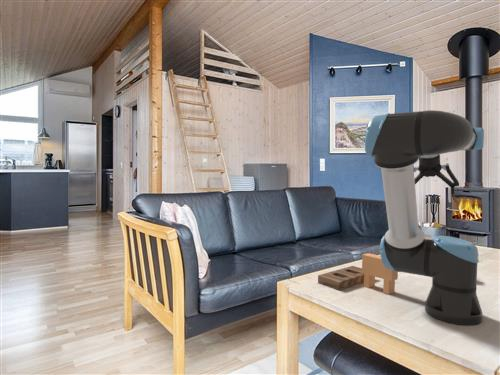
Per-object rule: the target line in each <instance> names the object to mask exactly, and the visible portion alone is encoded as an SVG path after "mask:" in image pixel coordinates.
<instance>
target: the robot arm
mask: <svg viewBox="0 0 500 375" xmlns="http://www.w3.org/2000/svg"><path fill="white" fill-rule="evenodd" d="M369 120H370V121H368V122H369V123H368V124H367V127H366V131H365V135H364V136H365V137H364V151H365V155H366V156H367V157H370V158H373V160H374V165H375V166H377V167H378V168H380V170H381V176H382V177H381V179H382V187H383V195H384V202H385V210H386V218H387V225H388V230H387V231H386V232H385V234H384V235H383V236H382V238H381V239H380V243H379V244H380V245H379V248H380V252H379V254H380V255H379V256H381V260H382V262H383V264H384V266H385V267H386V268H388V269H390V270H394V271H397V272H398V273H406V274H412V275H418V276H424V277H429V278H432V280H431V281H432V282H431V288H430V290H429V293H428V294H427V297H426V300H425V303H424V311H425V312H426V313H427V314H428V315H430V316H431V317H433V318H435V319H438V320H440V321H443V322H447V323H450V324H454V325H455V324H456V325H463V326H473V325H478V324H480V323H482V322H483V310H482V307H481V304H480V300H479V297H478V295H477V288H478V287H477V285H478V284H477V283H478V263H479V255H478V254H479V253H478V252H479V250H478V247H477V246H476V245H475V244H474V243H473V242H470V241H468V240H465V239H461V238H458V237H454V236H448V235H441V234H440V235H434V237H433V238H432V239H431V240H429V239H425V236H424V234H425V233H424V231H423V230H422V229H421V228H419V218H418V205H417V195H416V185H417V183H418V182H419V181H420V180H421V179H423V178H424V177H425V178H429V177H433V178H434V177H437V178H439V179H441V181H443V182H444V183H445V184H446V185H447V188H448V190H447V191H448V194H447V195H448V203H452V195H455V188H456V187H459V186H460V182H459V180H458V178H457V177H456V175H455V174H454V173H453V171H452V169H451V168H450V164H449V163H445V164H443V165H441V155H442V154H447V153H448V154H449V153H453V152H458V151H478V150H482V149H483V148H484V143H485V130H484V128H483V127H474V126H473V125H472V124H471V122H470V121H469V120H468V119H466V118H465V117H463V116H461V115H458V114H456V113H453V112H448V111H445V110H444V111H442V110H422V111H420V110H419V111H407V112H395V113H390V112H388V113H386V114H384V113H383V114H379V115H378V114H377V115H374V116H373V117H372V118H371V119H369ZM417 163H418V166H414V165H415V164H417ZM442 169H443V170H444V171H446V173H447V174H448V177H450V179H451V180H450V179H449V178H448V177H447V176H446V175H444V174H443V172H441V170H442ZM417 171H418V172H419V173H418V174H417V175H416V176H415V173H416V172H417Z"/></svg>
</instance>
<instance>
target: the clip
mask: <svg viewBox="0 0 500 375" xmlns="http://www.w3.org/2000/svg"><path fill="white" fill-rule="evenodd" d="M361 256H362V257H361V258H362V259H361V262H362V264H361V266H362V267H361V268H362V273H364V282H363V287H365V288H367V289H370V288H372V287H375V285H376V278H379V279H382V280H383V288H382V290H383V291H382V292H383V294H386V295H391V294H393V293H395V287H396V280H398V276H399V272H397V271H394V270H390V269H388V268H386V267H385V266H384V264H383V262H382V260H381V255H379V254H374V253H368V252H367V253H365V254H362V255H361Z"/></svg>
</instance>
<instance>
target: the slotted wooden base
mask: <svg viewBox="0 0 500 375" xmlns="http://www.w3.org/2000/svg"><path fill="white" fill-rule="evenodd" d="M362 283H364V273H362V267H360V266H359V267H358V266H356V265H351V266H348V267H344V268H339V269H337V270H332V271H329V272H325V273H321V274H318V275H317V284H320V285H323V286H326V287H329V288H331V289H334V290H336V291H342V290H343V289H348V288H350V287H353V286H356V285H359V284H362Z"/></svg>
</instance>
